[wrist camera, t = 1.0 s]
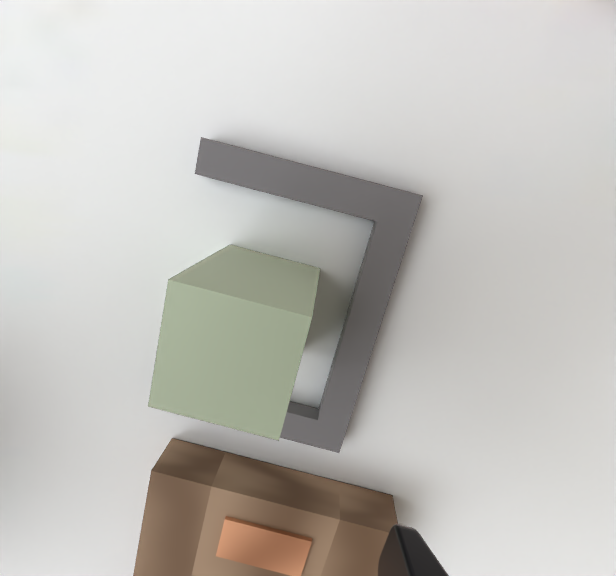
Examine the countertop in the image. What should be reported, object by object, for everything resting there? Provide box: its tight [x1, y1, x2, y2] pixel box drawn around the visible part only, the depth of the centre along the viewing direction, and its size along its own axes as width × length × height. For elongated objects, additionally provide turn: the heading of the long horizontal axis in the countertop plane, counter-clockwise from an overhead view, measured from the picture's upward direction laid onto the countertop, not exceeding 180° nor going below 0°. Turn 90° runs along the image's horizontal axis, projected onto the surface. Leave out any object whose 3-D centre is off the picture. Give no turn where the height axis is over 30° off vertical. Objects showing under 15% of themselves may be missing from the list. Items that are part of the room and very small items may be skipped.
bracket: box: [195, 137, 423, 453], centre depth 18 cm, size 10×13×1 cm
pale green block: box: [148, 245, 320, 441], centre depth 15 cm, size 4×4×7 cm
